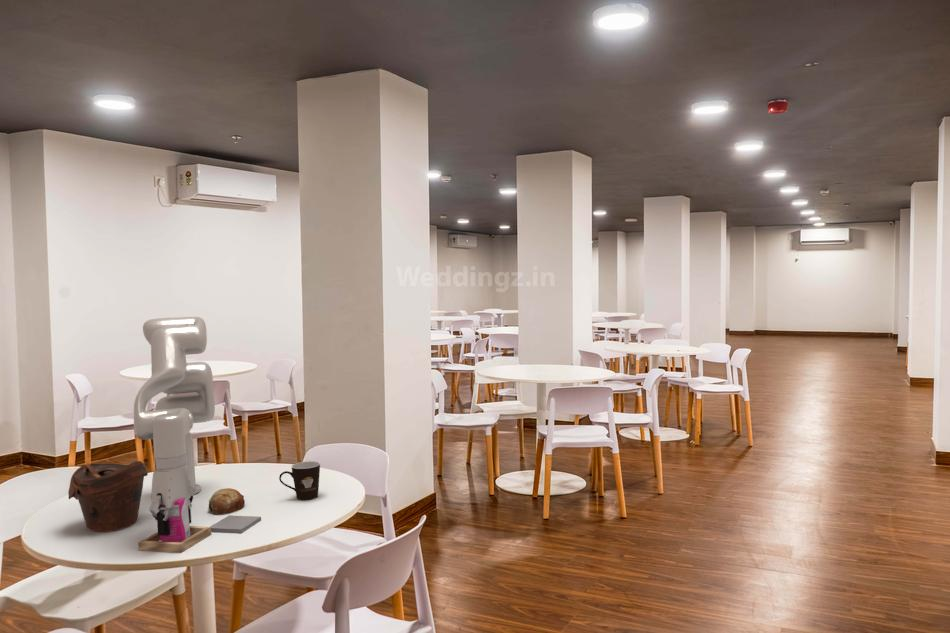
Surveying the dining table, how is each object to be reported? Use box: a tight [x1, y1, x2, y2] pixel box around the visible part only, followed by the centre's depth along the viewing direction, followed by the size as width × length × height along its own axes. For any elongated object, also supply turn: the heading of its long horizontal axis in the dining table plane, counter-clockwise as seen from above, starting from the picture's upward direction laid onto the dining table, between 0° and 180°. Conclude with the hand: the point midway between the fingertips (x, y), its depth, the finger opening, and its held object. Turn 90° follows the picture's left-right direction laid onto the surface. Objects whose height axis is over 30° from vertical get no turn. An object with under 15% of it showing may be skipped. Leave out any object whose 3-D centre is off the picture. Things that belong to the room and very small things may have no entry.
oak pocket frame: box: [137, 525, 212, 553], centre depth 180 cm, size 12×12×2 cm
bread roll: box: [208, 487, 245, 515], centre depth 205 cm, size 10×10×8 cm
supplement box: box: [160, 497, 192, 543], centre depth 180 cm, size 6×6×12 cm
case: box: [68, 460, 149, 532], centre depth 195 cm, size 18×20×18 cm
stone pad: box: [209, 515, 262, 534], centre depth 190 cm, size 10×10×1 cm
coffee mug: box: [278, 460, 321, 501], centre depth 214 cm, size 12×9×10 cm
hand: (175, 528), depth 180 cm, fingers open, 7 cm apart
